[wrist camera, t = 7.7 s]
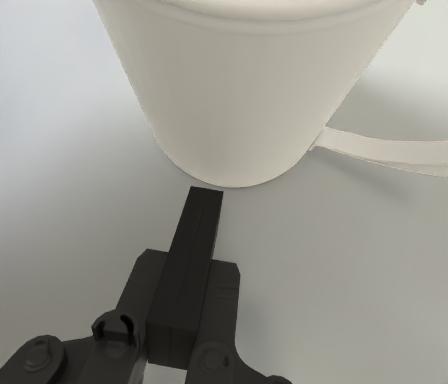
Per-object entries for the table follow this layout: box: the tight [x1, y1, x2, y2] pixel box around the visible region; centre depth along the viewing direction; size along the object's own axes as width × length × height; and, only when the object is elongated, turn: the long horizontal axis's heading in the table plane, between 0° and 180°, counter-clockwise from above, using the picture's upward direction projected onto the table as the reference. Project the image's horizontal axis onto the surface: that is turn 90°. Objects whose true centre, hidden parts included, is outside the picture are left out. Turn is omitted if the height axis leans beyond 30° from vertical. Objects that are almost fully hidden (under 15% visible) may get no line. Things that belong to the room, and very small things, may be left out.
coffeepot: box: [93, 0, 448, 187], centre depth 11 cm, size 11×25×19 cm, turn 61°
